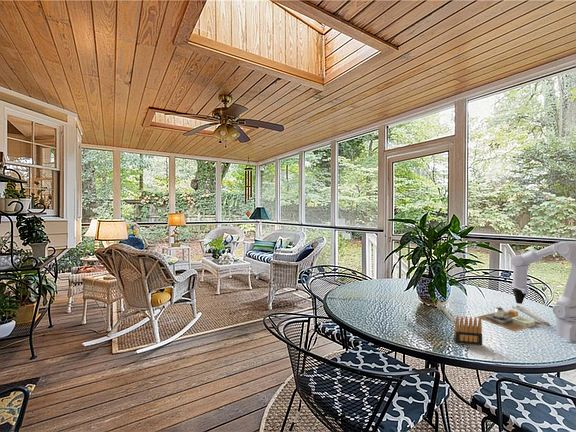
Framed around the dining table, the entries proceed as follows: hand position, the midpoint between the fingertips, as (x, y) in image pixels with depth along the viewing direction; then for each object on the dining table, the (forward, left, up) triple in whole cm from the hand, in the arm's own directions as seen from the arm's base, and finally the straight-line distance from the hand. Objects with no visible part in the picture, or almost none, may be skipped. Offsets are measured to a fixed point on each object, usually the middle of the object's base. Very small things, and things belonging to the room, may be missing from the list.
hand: (519, 303), depth 153 cm
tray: (-10, +4, -8) cm, 13 cm away
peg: (-8, +14, -7) cm, 18 cm away
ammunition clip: (-33, +40, -8) cm, 52 cm away
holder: (-6, +9, -8) cm, 13 cm away
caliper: (-2, +37, -8) cm, 38 cm away
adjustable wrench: (+4, -8, -9) cm, 12 cm away
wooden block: (-4, +7, -7) cm, 11 cm away
